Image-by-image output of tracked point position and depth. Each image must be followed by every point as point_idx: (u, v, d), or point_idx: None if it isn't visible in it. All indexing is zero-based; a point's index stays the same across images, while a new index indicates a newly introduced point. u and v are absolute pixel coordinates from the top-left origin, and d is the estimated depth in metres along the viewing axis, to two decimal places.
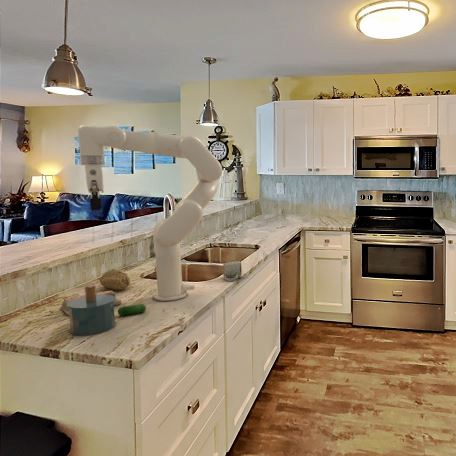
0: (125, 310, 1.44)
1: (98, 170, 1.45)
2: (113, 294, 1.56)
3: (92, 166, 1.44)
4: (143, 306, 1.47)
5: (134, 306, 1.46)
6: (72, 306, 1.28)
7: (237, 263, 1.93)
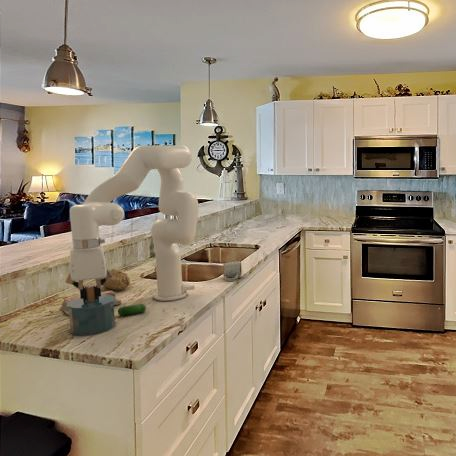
0: (125, 310, 1.44)
1: None
2: (113, 294, 1.56)
3: (102, 248, 1.32)
4: (143, 306, 1.47)
5: (134, 306, 1.46)
6: (72, 306, 1.28)
7: (237, 263, 1.93)
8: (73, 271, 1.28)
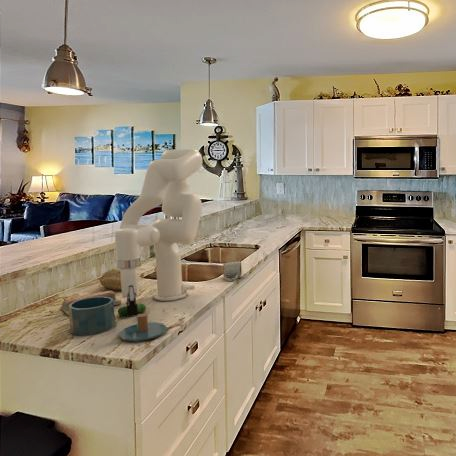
0: (125, 310, 1.44)
1: None
2: (113, 294, 1.56)
3: None
4: (143, 306, 1.47)
5: None
6: (126, 337, 1.24)
7: (237, 263, 1.93)
8: (137, 287, 1.43)
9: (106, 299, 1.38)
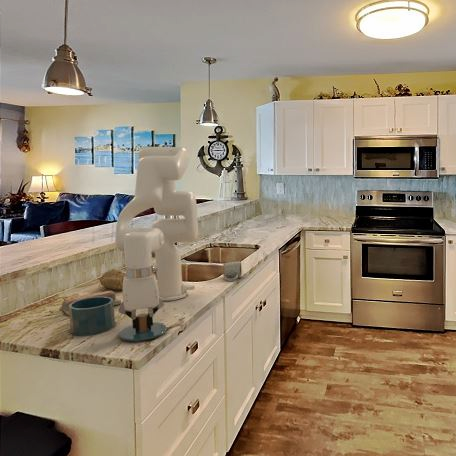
0: None
1: None
2: (113, 294, 1.56)
3: (155, 276, 1.29)
4: None
5: None
6: (126, 337, 1.24)
7: (237, 263, 1.93)
8: (127, 301, 1.24)
9: (106, 299, 1.38)
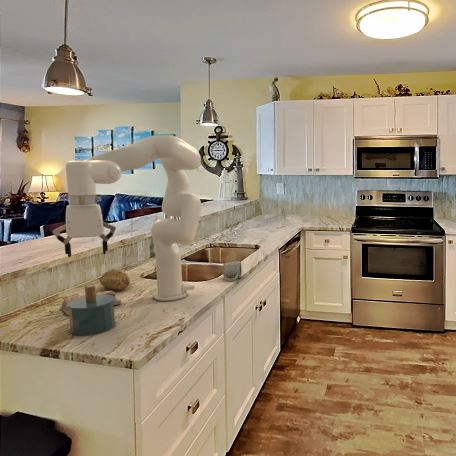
0: None
1: None
2: (113, 294, 1.56)
3: (99, 206, 1.30)
4: None
5: None
6: (72, 306, 1.27)
7: (237, 263, 1.93)
8: (69, 228, 1.26)
9: None
